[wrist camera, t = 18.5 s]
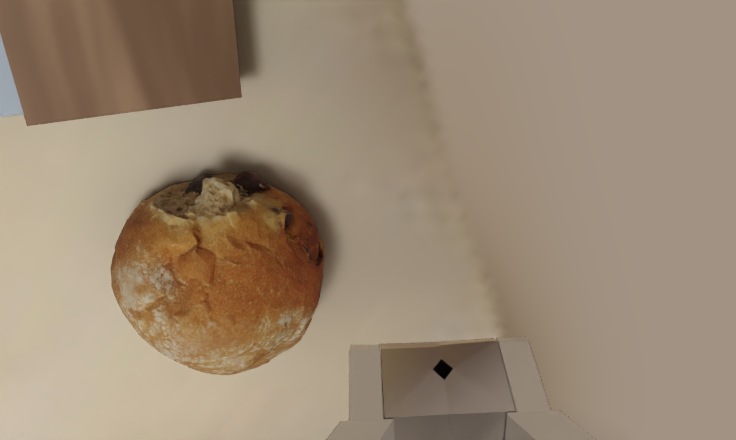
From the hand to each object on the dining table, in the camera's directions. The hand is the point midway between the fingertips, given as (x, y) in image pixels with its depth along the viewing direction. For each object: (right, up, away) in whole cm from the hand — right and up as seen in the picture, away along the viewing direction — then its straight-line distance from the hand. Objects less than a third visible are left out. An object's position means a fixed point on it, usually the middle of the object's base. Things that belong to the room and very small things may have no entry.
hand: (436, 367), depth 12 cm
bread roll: (-8, +1, +23) cm, 24 cm away
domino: (-7, +10, +15) cm, 19 cm away
